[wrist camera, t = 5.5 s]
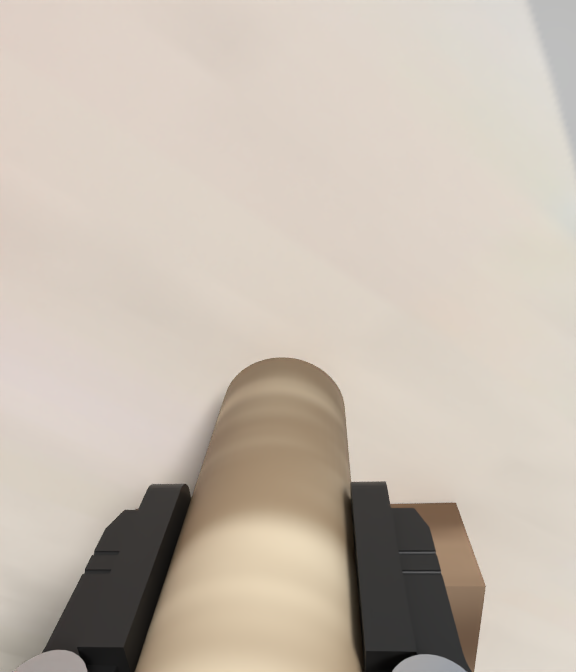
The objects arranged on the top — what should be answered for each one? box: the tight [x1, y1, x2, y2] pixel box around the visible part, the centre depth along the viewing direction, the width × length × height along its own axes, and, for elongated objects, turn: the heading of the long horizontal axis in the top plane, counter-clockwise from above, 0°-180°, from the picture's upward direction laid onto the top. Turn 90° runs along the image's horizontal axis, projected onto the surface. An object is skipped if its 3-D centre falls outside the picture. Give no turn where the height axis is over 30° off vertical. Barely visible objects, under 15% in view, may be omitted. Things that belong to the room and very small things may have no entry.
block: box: [136, 503, 486, 672], centre depth 19 cm, size 10×12×4 cm
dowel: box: [135, 358, 365, 672], centre depth 9 cm, size 4×4×12 cm
